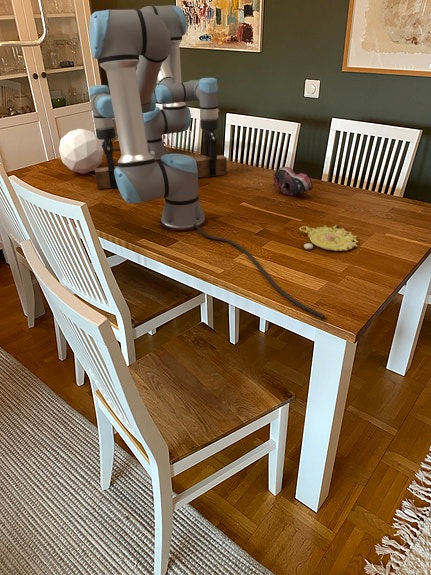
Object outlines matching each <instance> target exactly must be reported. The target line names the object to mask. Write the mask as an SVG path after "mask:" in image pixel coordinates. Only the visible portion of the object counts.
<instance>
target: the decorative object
mask: <svg viewBox="0 0 431 575" xmlns="http://www.w3.org/2000/svg"><path fill="white" fill-rule="evenodd" d="M303 228H304V229H305V230H304V229H303ZM299 231H300V232H303V233H305V234H307V237H308V238H309V240H310V241H311V243H304V244H303V248H304V249H305V250H313V249H314V245H315V246H316V247H318V248H321V249H324V250H328V251H335V252H341V251H348V250H352V249H354V247H356V248H358V247H359V245H358V244H357V243H359V240H357V238H359V237H358V235H353V234H352V231H347V230H346V229H345V228H344V227H342V228H338V224H335V225H333V226H331V227H328V226H327V225H326V224H325V225H323V226H322V227H321V226H317V227H316V228H314V227H309V226H308V225H302V226H300V227H299ZM313 244H314V245H313Z"/></svg>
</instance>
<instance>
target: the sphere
mask: <svg viewBox="0 0 431 575" xmlns="http://www.w3.org/2000/svg"><path fill="white" fill-rule="evenodd" d="M101 144H102V140H100V139H98V138H97V136H96V134H94V133H93V131H92V130H87V129H83V128H77V129H73V130H70V131H68V132H67V133H66V134H65V135H64V136H63V137H61V139H60V142H59V147H58V153H59V156H60V159H61V162H62V164H64V165H65V166H66V167H67V168H68V169H69V170H70V171H72V172H74V173H78V174H82V175H84V174H87V173H91V172H95V168H99V166H100V165H102V163H103V157H104V148H103V146H102V145H101Z"/></svg>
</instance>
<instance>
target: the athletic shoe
mask: <svg viewBox="0 0 431 575" xmlns="http://www.w3.org/2000/svg"><path fill="white" fill-rule="evenodd" d="M272 178H273V181H274V183H270V186H273V187H277V188H278V190H279V192H282V194H284V195H287V196H292V197H296V196H299V195H301V194H305V193H308V192H310V191H313V188H314V187H313V182H312V179H311V177H310V176H309V174H306V173H304V172H299V173H296V171H295V170H294V169H293V168H292V167H289V166H282V167H279V168H278V169H277V170H275V172H274V175H273V176H272Z"/></svg>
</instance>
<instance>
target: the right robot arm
mask: <svg viewBox="0 0 431 575" xmlns="http://www.w3.org/2000/svg"><path fill="white" fill-rule="evenodd" d="M88 32H89V46H90V47H89V48H90V51H91V56H92V58H93V59H95V60H98V62H99V66H100V67H101V68H102V69H103V70H104V71H105V73H106V77H107V82H108V83H107V84H108V85H105V84H97V85H96V84H95V85H92V86H89V88H88V93H89V99H90V106H91V111H92V116H93V117H92V118H93V125H94V128H95V136H96V137H97V138H98V139H99V140H100V141H101V144H102V145H103V146H102V148H103V153H104V155H105V157H106V159H105V160H106V164H107V165H106V167H108V171H107V172H109V178H110V184H111V187H112V188H116V187H115V186H117V185H118V187H117V188H118V191H119V192H120V196H121V197H122V199H123V200H124V201H125V202H126V203H127V204H138V203H139V204H141V203H144V202H149V201H150V202H151V201H155V200H160V199H164V204H163V209H162V213H161V214H160V218H161V219H160V220H161V225H162V227H163V228H165V229H167V230H170V231H175V232H176V231H177V232H185V231H186V232H187V231H192V230H195V229H197V230H198V231H199V232H200V233H201V234H202V235H203V236H204V237H206V238H208V239H211V240H215V241H221V242H226V243H229V244H230V245H233V246H235V247H236V248H237V249H239V250H240V251H242V252H243V254H245V255H246V256H248V258H249V259H250V260H251V261H252V262H253V263H254V265H256V267H257V268H258V269H259V271H260V272H261V273H262V274H263V276H264V277H265V278H266V280H268V282H269V283H270V284H271V285H272V287H273V288H274V289H276V291H277V292H279V293H280V294H282V296H284V297H285V298H286V299H287V300H289V301H290V302H292V303H293V304H294V305H296V306H298V307H300V308H301V309H302V310H305V311H307V312H309V313H311V314H313V315H316V316H318V317H320V318H322V319H324V318H325V317H326V315H325V314H323V313H321V312H318V311H317V310H315V309H313V308H310V307H308V306H306V305H304V304H303V303H301V302H299V301H298V300H296V299H294V298H293V297H291V296H290V295H289V294H288V293H287V292H285V291H284V290H283V289H281V287H280V286H279V285H277V283H276V282H275V281H274V280H273V279H272V278H271V276H269V275H268V273H267V272H266V271H265V270H264V268H263V267H262V266H261V264H260V263H259V261H257V260H256V258H255V257H253V255H251V253H249V252H248V251H247V250H246V249H245V248H243V247H242V246H241V245H239V244H238V243H236V242H234V241H232V240H229V239H226V238H224V237H223V238H222V237H216V236H213V235H210V234H207V233H206V232H205V231H204V230H203V229H202V228H201V227H202V226H203V225H204V224H205V223H206V215H205V212H204V210H203V208H202V204H201V202H200V196H199V178H198V171H197V163H196V160H195V159H194V158H195V157H192V156H191V155H187V154H181V153H167V154H165V155H163V156H161V160H160V161H155V158H154V156H153V155H151V154H150V153H149V151H148V145H147V138H146V132H145V126H144V119H143V113H147V112H152V111H154V110H155V108H156V107H157V99H156V95H155V88H156V86H157V83H156V82H157V79H158V76H159V72H160V69H161V66H162V63H163V62H164V61H165V60H166V59H167V57H168V55H169V52H170V47H171V38H170V34H169V31H168V29H167V27H166V25H165V23H164V22H163V20H162V19H161V18H160V17H159V16H158V15H156V14H155V13H153V12H151V11H149V10H145V9H142V8H137V9H106V10H104V9H103V10H97V11H93V13H92V14H91V15H90V19H89V29H88ZM114 126H115V127H114ZM115 128H116V130H115ZM116 133H117V138H118V143H119V149H120V150H119V151H120V157H119V159H118V160H117V166H119V168H116V169H115V168H114V166H116V163H115V162H114V156H113V154H114V150H113V148H114V146H113V141H111V140H113V139H114V138H116ZM102 140H103V141H102Z"/></svg>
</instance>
